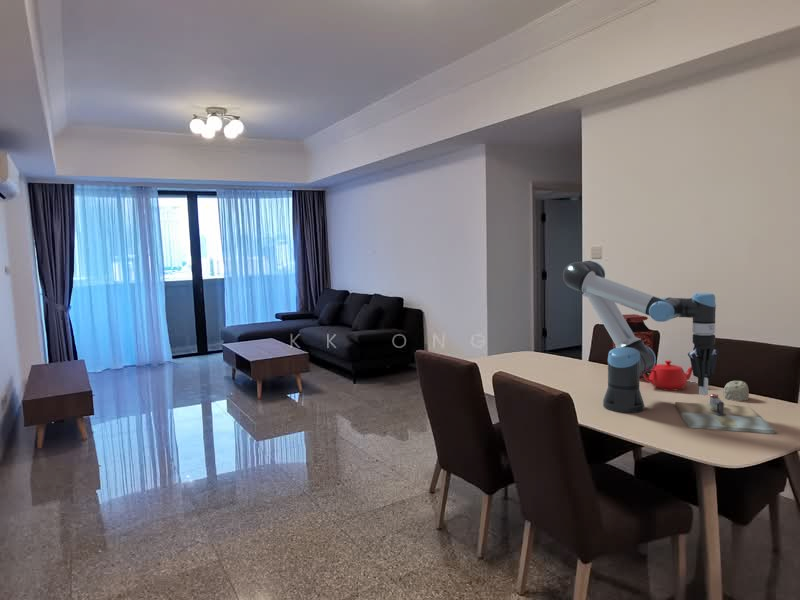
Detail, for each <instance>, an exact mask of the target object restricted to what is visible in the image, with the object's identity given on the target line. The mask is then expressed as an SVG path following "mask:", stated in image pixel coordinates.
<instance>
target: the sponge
mask: <svg viewBox="0 0 800 600" xmlns="http://www.w3.org/2000/svg"><path fill="white" fill-rule="evenodd" d="M749 391H750V390H749V386H748V383H746V382H745V381H743V380H732V381H729V382H727V383H726V384H725V386H724V388H723V392H722V394H723V395H722V396H724V397H725V398H724V397H723V398H724V399H726V398H727V399H726V400H730V399H731V401H734V400H736V401H735V402H744V401H743V400H747V401H748V400H749V395H750V393H749Z"/></svg>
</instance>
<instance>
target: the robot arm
mask: <svg viewBox="0 0 800 600" xmlns="http://www.w3.org/2000/svg"><path fill="white" fill-rule="evenodd" d="M605 277H606V271H605V268H604V267H603V266H602V265H601V264H600V263H598V262H596V261H593V260H584V261H575V262H571V263H568V265H566V266H565V267H564V269H563V273H562V280H563V282H564V284H565V285H566V286H567V287H569V288H571V289H572V290H575V291H578V292H580V294H581V295H582V296H583V297H585V298H588V300H589V302H590V304H591V305H592V307H593V309H594V310H595V312H596V314H597V316H598V318H599V320H601V323H602V324H603V326H604V328H605V329H606V332H608V334H609V336H610V338H611V339H612V343H613V342H614V343H615V345H616V348H614V349H613V348H612V349H610V350H609V351H608V354H607V355H608V356H607V388H606V391H605V395H604V397H603V400H602V406H603V408H605V409H607V410H609V411H613V412H618V413H619V412H620V413H638V412H642V411H644V410H645V403H644V398H643V397H642V393H641V390H640V378H641V377H640V376H642V375H644V374H646V373H647V374H649V373H651V372H650V371H651V370H653V368H654V366H655V365H656V363H657V358H656V354H655V351H654V349H653V350H652V349H650V348H649V347H647V346H645V345H644V343H643V341H642V340H641V339H640V338H637V337H635V335H634V334H633V332H632V330H631V329H630V327H629V325H628V324H627V322H626V320H625V319H624V317H623V315H624V314H622V312H621V311H620V309H619V307H618V306H617V304H619V305H621V306H624V307H626V308H628V309H632V310H634V311H637V312H639V313H641V314H644V315H647V316H649V317H650V318H651V319H652V320H653V321H655V322H658V323H660V322H667V321H670V320H673V319H675V318H691V319H692V333H693V334H692V344H693V348H692V349H693V350H692V351H691V352H688V353H687V355H688V357H689V360H690V366H692V375H693V377H695V378H697V386H698V394H699V395H702V396H708V395H709V385H710V379H712V377H713V376H715V370H716V366H717V361H718V356H719V354H720V351H719V350H717V349H715V346H714V345H715V344H716V311H717V310H716V309H717V308H716V307H717V305H716V296H715V294H713V293H710V292H709V293H708V292H702V293H701V292H698V293H697V292H696V293H692V297H691V298H690V297H689V298H686V297H683V298H681V297H662V298H660V297H657V296H654V295H651V294H649V293H647V292H646V293H645V292H643V291H640V290H638V289H635V288H633V287H629V286H627V285H624V284H621V283H619V282H615V281H613V280H610V279H607V278H605Z"/></svg>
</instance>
